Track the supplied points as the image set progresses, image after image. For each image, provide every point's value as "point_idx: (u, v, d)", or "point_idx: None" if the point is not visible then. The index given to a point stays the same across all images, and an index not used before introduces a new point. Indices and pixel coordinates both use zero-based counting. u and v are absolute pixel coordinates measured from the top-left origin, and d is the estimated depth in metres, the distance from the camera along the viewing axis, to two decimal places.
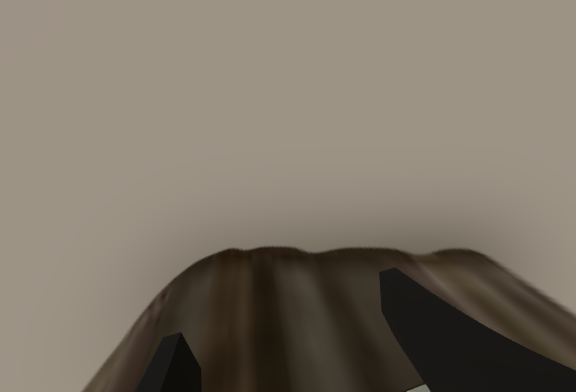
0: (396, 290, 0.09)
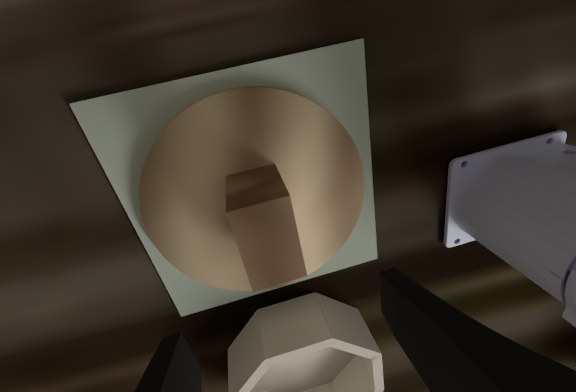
0: (396, 290, 0.09)
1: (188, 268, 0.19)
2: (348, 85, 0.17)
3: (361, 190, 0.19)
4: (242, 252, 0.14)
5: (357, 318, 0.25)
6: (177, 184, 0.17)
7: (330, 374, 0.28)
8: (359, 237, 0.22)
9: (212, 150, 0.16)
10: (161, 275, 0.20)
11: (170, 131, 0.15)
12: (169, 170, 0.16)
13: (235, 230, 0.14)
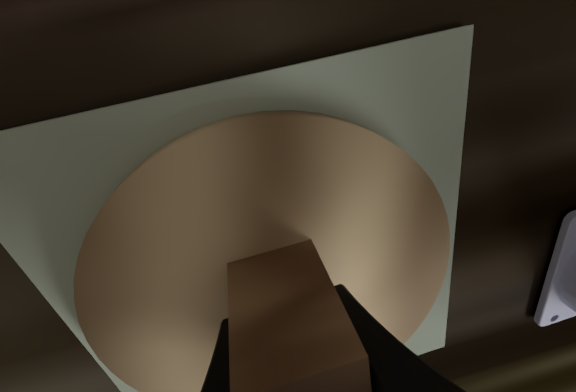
0: None
1: None
2: (437, 106, 0.10)
3: (442, 269, 0.12)
4: None
5: None
6: (143, 281, 0.10)
7: None
8: (423, 323, 0.15)
9: (204, 225, 0.09)
10: None
11: (124, 197, 0.08)
12: (127, 260, 0.09)
13: None
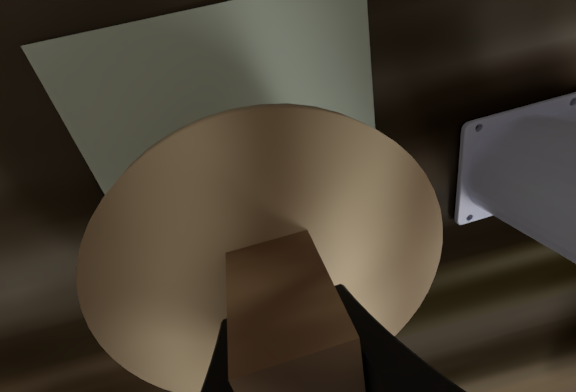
0: None
1: (168, 380, 0.12)
2: (348, 30, 0.15)
3: (435, 260, 0.13)
4: None
5: None
6: (143, 270, 0.10)
7: None
8: None
9: (203, 215, 0.09)
10: None
11: (125, 187, 0.09)
12: (128, 249, 0.09)
13: None
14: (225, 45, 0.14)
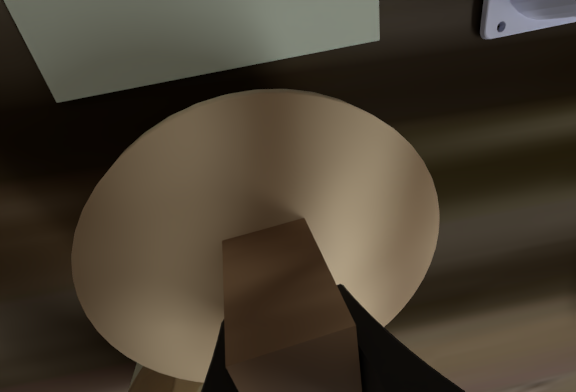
0: None
1: (166, 365, 0.13)
2: None
3: (431, 248, 0.13)
4: None
5: None
6: (140, 257, 0.10)
7: None
8: None
9: (199, 203, 0.09)
10: None
11: (119, 174, 0.08)
12: (123, 237, 0.09)
13: (244, 388, 0.07)
14: None
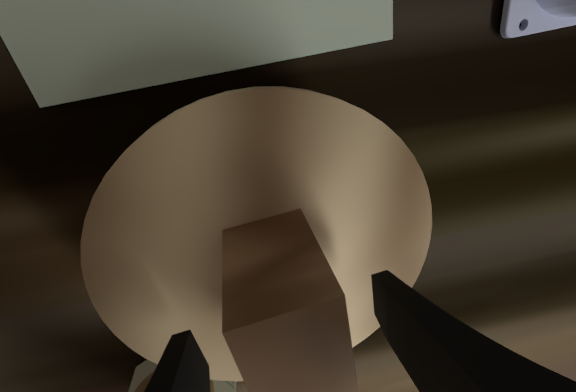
0: (387, 293, 0.09)
1: None
2: None
3: (425, 241, 0.13)
4: (252, 388, 0.08)
5: None
6: (144, 245, 0.10)
7: None
8: None
9: (200, 192, 0.10)
10: None
11: (127, 163, 0.09)
12: (129, 225, 0.10)
13: (240, 358, 0.07)
14: None
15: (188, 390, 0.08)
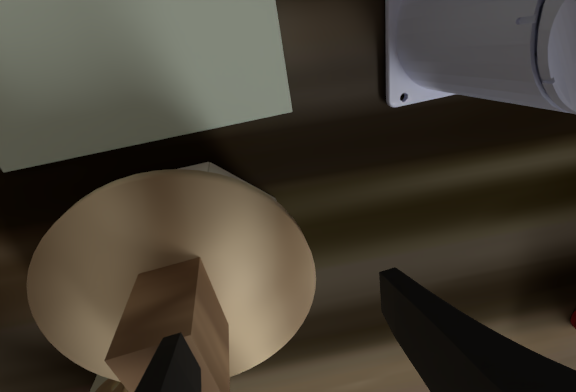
0: (396, 290, 0.09)
1: (105, 370, 0.16)
2: None
3: (312, 277, 0.16)
4: None
5: None
6: (77, 286, 0.14)
7: None
8: (261, 69, 0.16)
9: (117, 248, 0.13)
10: None
11: (58, 231, 0.12)
12: (64, 272, 0.13)
13: (122, 376, 0.11)
14: None
15: None
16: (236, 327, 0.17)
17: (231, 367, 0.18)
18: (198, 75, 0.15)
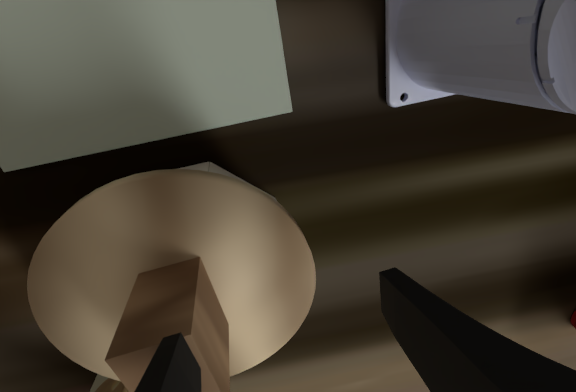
0: (396, 290, 0.09)
1: (106, 369, 0.16)
2: None
3: (312, 277, 0.16)
4: None
5: None
6: (77, 286, 0.14)
7: None
8: (261, 69, 0.16)
9: (117, 247, 0.13)
10: None
11: (58, 230, 0.12)
12: (64, 272, 0.13)
13: (122, 376, 0.11)
14: None
15: None
16: (236, 327, 0.17)
17: (231, 366, 0.18)
18: (198, 75, 0.15)
